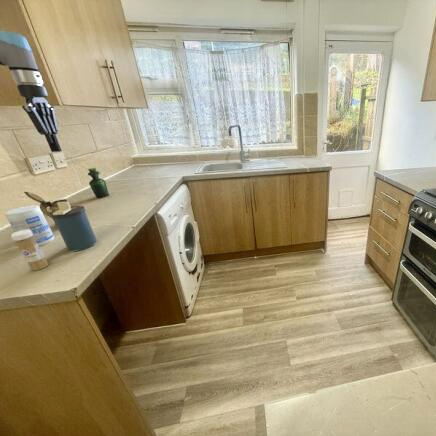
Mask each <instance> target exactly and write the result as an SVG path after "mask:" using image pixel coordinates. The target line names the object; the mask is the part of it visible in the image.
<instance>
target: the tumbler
mask: <svg viewBox="0 0 436 436" xmlns="http://www.w3.org/2000/svg"><path fill="white" fill-rule="evenodd" d="M59 210H60V209H59ZM56 211H58V210H56ZM56 211H54V212H56ZM51 212H52V211H51ZM54 212H52V213H51V216H52V218H54V220H55V222H56V225H57V226H56V227H57V229H58V231H59V233H60V235H61V238H62V240H63V243H64V245H65V246H66V248H67V250H68V251H73V253H79V252H83V251H85V250H88V249H90V248H93V247H94V246H95V245H96V243H97V238H96V235H95V233H94V231H93V228H92V226H91V223H90V221H89V217H88V216H87V213H86V208H85V206H83V205H74V206H72V205H71V210H70V211H69V212H67V213H65V214H62V215H53V213H54ZM52 218H51V219H52ZM54 220H53V221H54ZM55 222H54V223H55Z"/></svg>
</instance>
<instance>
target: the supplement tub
mask: <svg viewBox="0 0 436 436" xmlns="http://www.w3.org/2000/svg"><path fill="white" fill-rule="evenodd" d="M4 215H5V218H6V219H7V221H8V223H9V225H10V227H11V228H12V230H13V233H15V232H18V231H21V230H31V231H32V233H33V236H34V238H35V240H36V242H37V243H38V245H39V247H41V246H45V245H47V244H50V243H51V242H53V241H54V239H55V235H54V233H53V231H52V228H50V225H49V222H48V221H47V219H46V217H45V214H44V213H43V212H42V211H41V209H40V205H26V206H21V207H15V208H12V209H10V210H8V211H7V210H6V212H5V213H4Z"/></svg>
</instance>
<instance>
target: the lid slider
mask: <svg viewBox="0 0 436 436" xmlns="http://www.w3.org/2000/svg"><path fill="white" fill-rule="evenodd" d="M69 203H70V202H69V201H68V202H58V203H57V205H58V207H59V209H60V210H58V211H56V212H54V213H53V215H62V214H65V213H67V212H69V211H70V210H71V207H72V206H71V207H70V205H69Z"/></svg>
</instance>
